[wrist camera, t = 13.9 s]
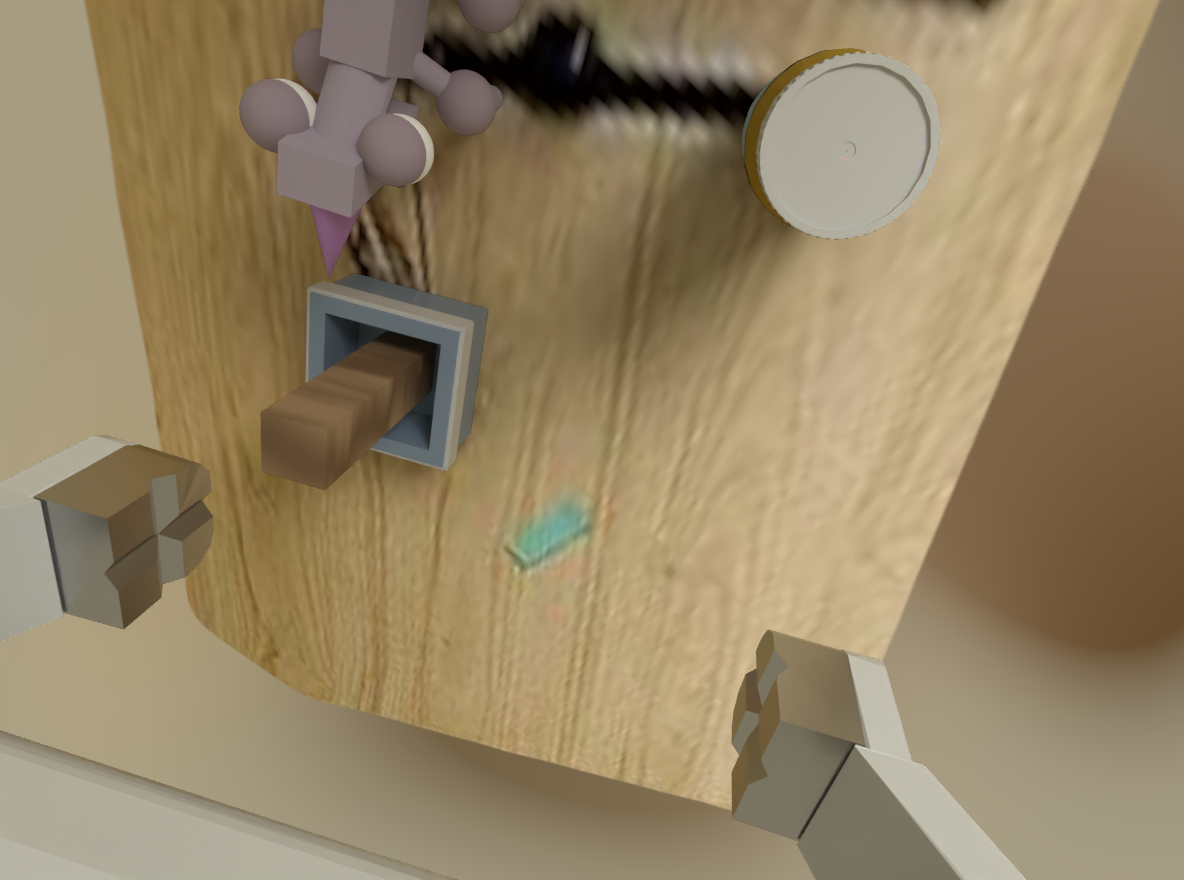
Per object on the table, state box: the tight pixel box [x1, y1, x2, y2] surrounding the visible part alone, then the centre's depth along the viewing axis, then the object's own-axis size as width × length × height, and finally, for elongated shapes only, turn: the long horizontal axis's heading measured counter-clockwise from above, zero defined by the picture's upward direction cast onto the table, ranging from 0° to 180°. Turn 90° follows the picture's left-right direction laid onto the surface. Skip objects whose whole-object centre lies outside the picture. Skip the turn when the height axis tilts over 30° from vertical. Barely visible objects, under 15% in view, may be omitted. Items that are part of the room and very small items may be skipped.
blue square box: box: [306, 273, 488, 471], centre depth 45 cm, size 10×10×6 cm
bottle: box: [742, 48, 941, 240], centre depth 31 cm, size 7×7×15 cm
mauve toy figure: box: [239, 0, 524, 278], centre depth 33 cm, size 20×11×14 cm, turn 163°
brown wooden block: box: [261, 331, 437, 490], centre depth 41 cm, size 4×4×14 cm
